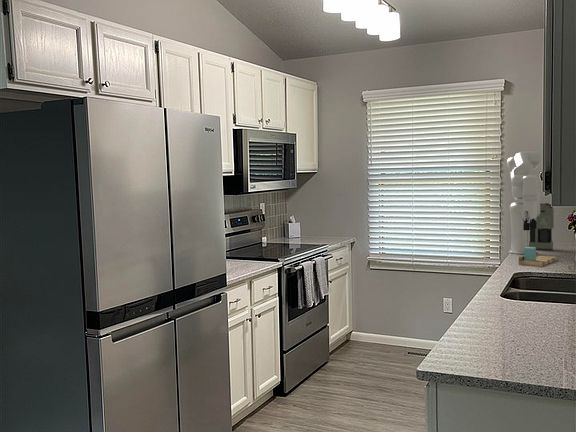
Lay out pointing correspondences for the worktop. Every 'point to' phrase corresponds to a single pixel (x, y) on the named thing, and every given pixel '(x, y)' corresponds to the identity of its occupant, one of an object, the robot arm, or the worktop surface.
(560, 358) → the worktop surface
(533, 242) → the device
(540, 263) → the board
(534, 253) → the teal upright block
